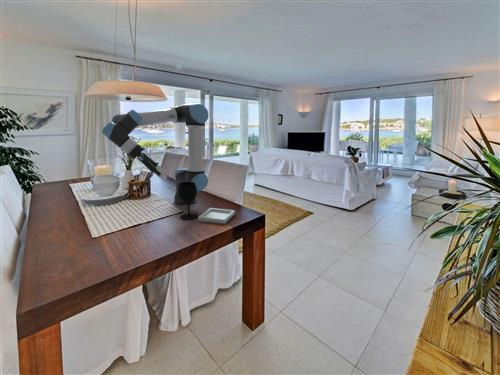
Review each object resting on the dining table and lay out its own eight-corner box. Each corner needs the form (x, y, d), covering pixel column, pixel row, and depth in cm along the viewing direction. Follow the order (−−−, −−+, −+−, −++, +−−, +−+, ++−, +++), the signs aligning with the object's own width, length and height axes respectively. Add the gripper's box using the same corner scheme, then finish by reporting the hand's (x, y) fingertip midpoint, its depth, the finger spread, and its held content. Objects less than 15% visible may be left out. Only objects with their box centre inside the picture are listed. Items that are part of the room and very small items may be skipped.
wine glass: (200, 214, 149) (199, 181, 144) (195, 220, 139) (193, 185, 134) (183, 213, 150) (181, 181, 145) (177, 219, 140) (174, 185, 135)
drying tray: (210, 211, 153) (210, 207, 153) (234, 214, 149) (234, 210, 148) (198, 220, 138) (198, 216, 138) (225, 224, 134) (225, 219, 133)
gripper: (130, 151, 138) (161, 177, 146) (123, 156, 115) (160, 186, 123) (140, 142, 138) (170, 167, 146) (134, 145, 115) (170, 175, 123)
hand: (165, 176), depth 135 cm, fingers open, 13 cm apart
